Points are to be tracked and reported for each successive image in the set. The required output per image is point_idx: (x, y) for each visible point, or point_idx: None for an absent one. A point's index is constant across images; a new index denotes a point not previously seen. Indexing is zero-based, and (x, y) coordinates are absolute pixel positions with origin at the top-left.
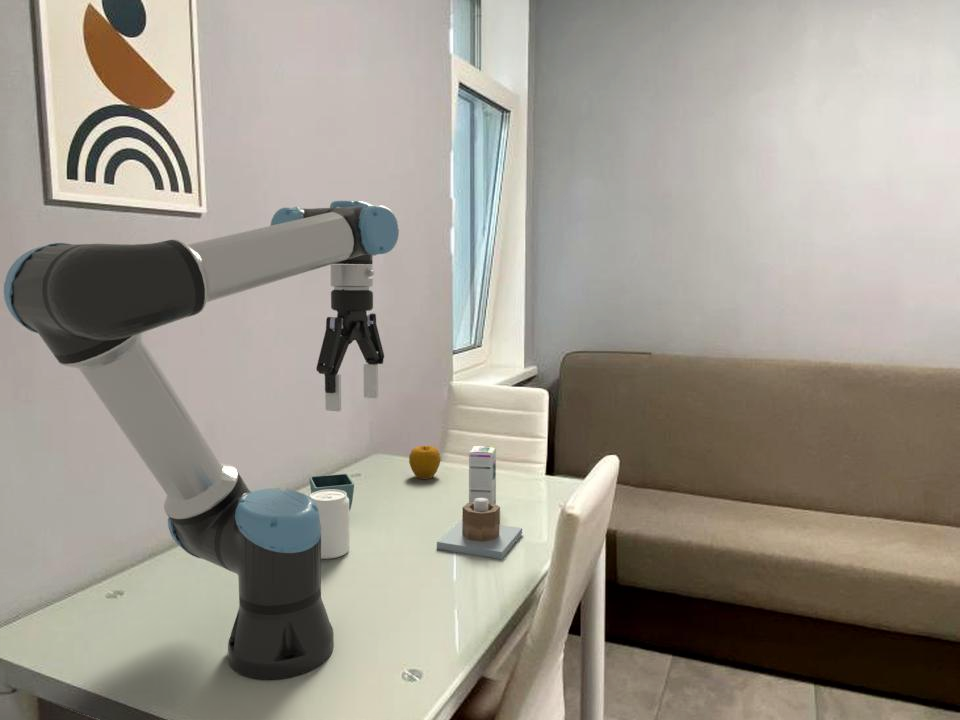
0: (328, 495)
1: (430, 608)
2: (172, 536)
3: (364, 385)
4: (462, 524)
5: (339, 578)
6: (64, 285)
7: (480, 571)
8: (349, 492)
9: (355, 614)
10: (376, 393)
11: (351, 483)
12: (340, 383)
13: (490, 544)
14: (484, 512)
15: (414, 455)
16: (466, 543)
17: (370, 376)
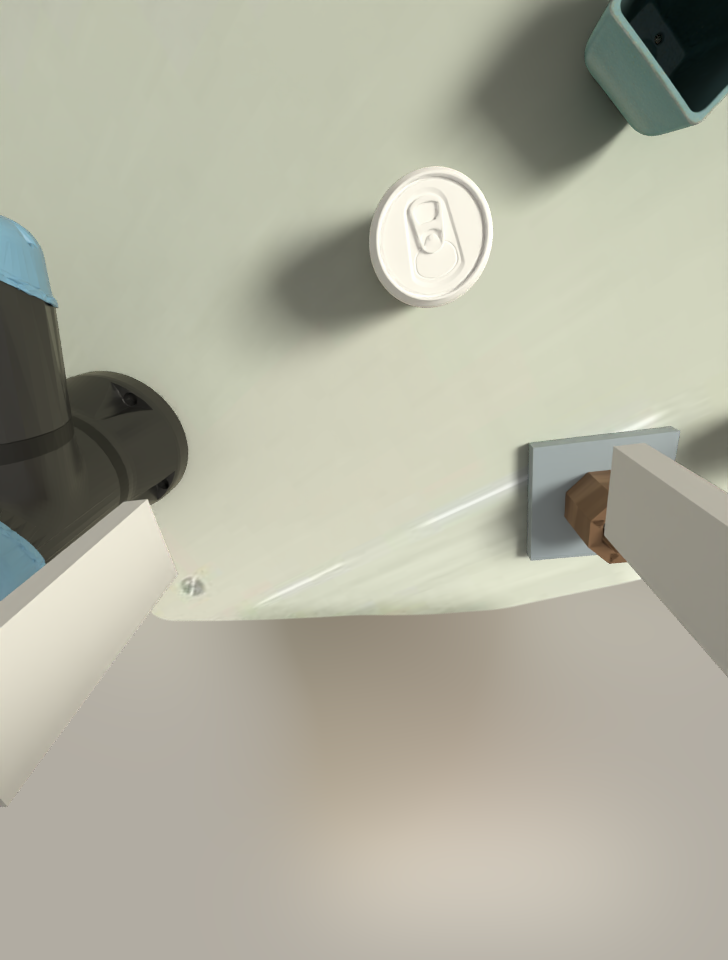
0: (441, 230)
1: (325, 537)
2: None
3: (670, 492)
4: (597, 481)
5: (331, 361)
6: None
7: (468, 543)
8: (668, 121)
9: (251, 462)
10: (625, 554)
11: (711, 99)
12: (66, 718)
13: (557, 533)
14: (596, 548)
15: None
16: (545, 497)
17: (722, 604)
